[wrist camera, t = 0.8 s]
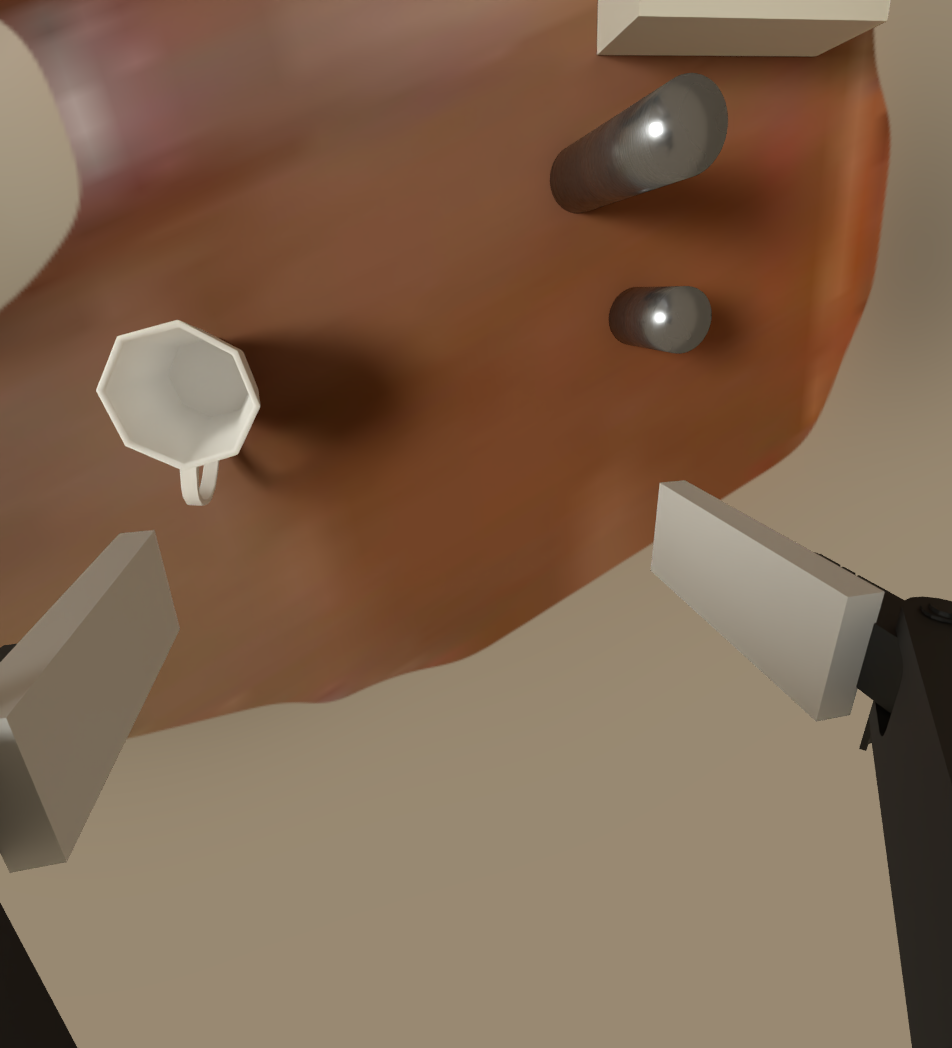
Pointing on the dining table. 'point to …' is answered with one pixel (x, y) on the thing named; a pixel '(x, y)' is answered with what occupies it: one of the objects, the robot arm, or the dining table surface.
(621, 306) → the short pin
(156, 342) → the cup
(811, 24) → the hole block
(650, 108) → the long pin
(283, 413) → the dining table surface
